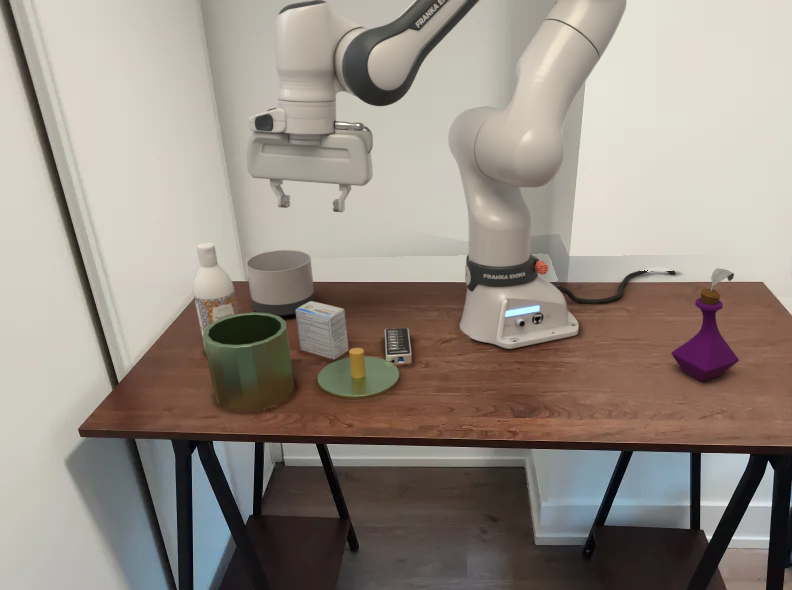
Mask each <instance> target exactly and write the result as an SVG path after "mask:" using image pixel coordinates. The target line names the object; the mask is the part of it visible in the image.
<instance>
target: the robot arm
mask: <svg viewBox="0 0 792 590" xmlns="http://www.w3.org/2000/svg"><path fill="white" fill-rule="evenodd" d="M481 1H482V0H413V1H412V2H411V3H410V5H408V6H407V7H406V8H405V9H404V11H403V12H401V13H400V14H399V16H398V17H397V18H395V19H394V20H393V21H390V22H389V23H386V24H384V25H381V26H377V27H372V28H368V27H365V26H363V25H361V24H359V23H357V22H355V21H353V20H351V19H350V18H348V17H346V16H344V15H343V14H341V13H340V12H339V11H337V10H336V9H335V8H333V7H332V6H331V5H330V4H329V2H328V1H325V0H307V1H300V2H294V3H291V4H287V5H285V6H283V7H282V8H281V10H280V11H279V12H278V14H277V16H276V20H275V31H274V55H275V56H274V58H275V59H274V60H275V69H276V73H277V76H278V80H279V82H278V83H279V85H278V91H277V107H273V108H269V109H267V110H266V111H263V112H260V113H257V114H254V115H251V116H250V117H249V118H248V128H249V129H250V131H251V133H250V134H249V135H248V136H247V140H246V154H245V155H246V157H245V158H246V170H247V173H248V174H249V175H250V176H251V178H254V179H263V180H269V186H270V188H271V190H272V191H273V193H274V195H275V196H276V198H277V207H278V208H281V209H283V208H284V209H288V208H290V207H291V201H290V200H291V195H290V194H289V195H288V194H285V192H284V190H283V188H282V185H283V184H284V183H283V182H284V181H292V182H302V183H303V182H305V183H317V184H330V185H338V191H339V192H341V194H340V196H339V198H335V199H334V200H333V201H332V206H333V207H332V211H333V212H334V213H343V212H345V210H346V203H345V202H346V201H345V200H346V199H347V198H348V196H349V194H350V192H351V191H352V186H358V187H363V186H366V185H367V184H368V183H370V182H371V180H372V179H373V177H374V171H373V170H374V169H373V160H372V153H371V152H372V150H373V145H374V141H373V140H374V137H373V136H374V135H373V132H372V130H371V129H370V128H369V127H367V125H364V123H362V122H348V121H337V94H338V93H340V92H345V93H348V94H350V95H351V96H352V97H353V96H354V97H356V98H358V99H359V100H360V101H362V102H363V103H365V104H367V105H370V106H373V107H386V106H390V105H393V104H395V103H397V102H399V101H400V100H402V99H403V98H404V97H405V96H406V94H408V92H409V90H410V89H411V87H412V85H413V83H414V81H415V79H416V77H417V75H418V73H419V70H420V68H421V66H422V65H423V63H424V61H425V60H426V59H427V57H428V56H429V55H430V54H431V52H432V51H433V50H434V49H435V48H436V47H437V46H438V45H439V44H440V43H441V42H442V41H443V40H444V38H445V37H446V36H447V35H448V34H449V33H450V32H451V31H452V30H453V29H454V28H455V27H456V26H457V25H458V24H459V23H460V22H461V21H462V20H463V19H464V17H466V16H467V14H468V13H469V12H470V11H471V10H473V8H474V7H475V6H478V4H479V3H480V2H481ZM554 4H555V5H554V6H553V7H552V9H550V11H549V12H548V14H547V16H546V17H545V19H544V20H543V22H542V23H541V25H540V26H539V28H538V29H537V31H536V32H535V34H534V36H533V37H532V39H531V40H530V42H529V44H528V45H527V47H526V48H525V49H524V51H523V53H522V54H521V56H520V58H519V59H518V60H517V64H516V66H515V76H516V79H517V82H516V86H515V89H514V92H513V95H512V97H511V100H510V102H509V104H508V105H507V107H505V108H504V109H502V108H497V107H493V106H477V107H473V108H469V109H466V110H464V111H461V113H459V114H458V115H457V116H456V117H455V118H454V119H453V121H452V123H451V125H450V127H449V130H448V135H447V139H448V140H447V142H448V148H449V150H450V153H451V154H452V156H453V158H454V160H455V162H456V164H457V167H458V171H459V175H460V180H461V183H462V188H463V192H464V197H465V202H466V208H467V218H468V254H467V255H466V258H465V259H466V260H465V268H464V269H465V270H464V279H465V286H466V293H465V294H466V295H465V301H464V307H463V311H462V315H461V319H460V320H459V321H460V322H459V329H460V331H461V332H462V333H463V334H465V335H466V336H468V337H469V338H470V339H472V340H474V341H478V342H480V343H487V344H491V345H496V346H498V347H499V348H503V349H506V350H512V349H516V348H522V347H526V346H531V345H536V344H541V343H547V342H550V341H556V340H561V339H566V338H570V337H574V336H577V335H578V334H579V331H580V325H579V321H578V320H577V319H576V317H575V316H574V314H573V313H572V312H570V311H569V310H568V305H567V301H566V298H565V296H564V295H563V294H565V295H567V297H568V298H569V299H570V300H571V301H572V302H575V303H577V304H583V305H584V304H587V305H589V304H590V305H600V304H606V303H610V302H615V301H618V300H619V299H621V298H622V297H623V295H624V290H625V289H624V288H625V286H626V285H627V284H628V282H629V280H630V279H633V278H634V277H637V276H641V275H644V274H648V273H649V272H647V271H648V270H647V271H645V270H644V271H640V270H637V271H633V272H630V273H628V274H627V275H626V276H624V279H622V281H621V283H620V284H619V285H618V292H617V293H616V294H614V295H611V296H608V297H603V298H592V299H591V298H590V299H589V298H581V297H578V296H576V295H575V294H574V293H573V292H572V291H571V290H570V289H568V288H567V287H563V285H562V283H561V284H560V283H556V282H551V281H549V280H547V279H546V278H545V277H543V275H546V274H547V273H548V272H549V266H548V264H546V262H544V261H543V260H540V259H539V258H538V257H537V256H535V255H534V254H532V253H531V241H532V223H533V217H532V212H531V209H530V207H529V205H528V203H527V202H526V200H525V198H524V195H523V191H522V188H540V187H544V186H545V185H547V184H549V183H550V182H551V181H553V180H554V179H555V178H556V177H557V175H558V174H559V172H560V170H561V169H562V166H563V163H564V159H565V153H566V147H565V142H564V138H563V137H564V136H563V134H564V133H563V132H564V126H565V122H566V120H567V118H568V114H569V112H570V109H571V107H572V105H573V102H574V101H575V99H576V98H577V95H578V94H579V93H580V91H581V89H582V88H583V86H584V84H585V83H586V82H587V80H588V78H589V77H590V75H591V73H592V72H593V70H594V69H595V68H596V66H597V64H598V63H599V61H600V60H601V59H602V57H603V56H604V53H605V52H606V50H607V48H608V47H609V45H610V43H611V41H612V39H613V38H614V36H615V34H616V32H617V29H618V27H619V25H620V23H621V21H622V18H623V16H624V14H625V12H626V9H627V0H556V1H555V3H554ZM652 272H654V271H651V272H650V273H652ZM665 272H667V273H668V274H670V275H671V276H677V273H676V271H675V270H674V269H673V271H665Z"/></svg>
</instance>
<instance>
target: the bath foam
mask: <svg viewBox="0 0 792 590" xmlns="http://www.w3.org/2000/svg"><path fill="white" fill-rule="evenodd" d="M196 250H197V255H198V261H199V265H200V267H199V268H198V270H197V273H196V275H195V278H194V281H193V286H192V289H193V291H192V292H193V298H194V299H193V300H194V304H195V309H196V314H197V319H198V323H199V327H200V333H201V338H202V342H203V348H204V352H205V353H206V350H205V345H204V340H203V333H204V329H205V328H207V327H208V326H209V325H210V324H211V323H213V322H215V321H217V320H219V319H222V318H224V317H228V316H232V315H236V314H239V309H238V303H237V296H236V290H235V286H234V284H233V281H232V279H231V277H230V276H229V274H228V273H227V272H226V271H225V270H224V269H223V268H222V267H221V265H220V264H219V263H218V257H217V251H216V245H215V243H213V242H202V243H199V244H197V245H196Z"/></svg>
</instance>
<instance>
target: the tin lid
mask: <svg viewBox="0 0 792 590" xmlns="http://www.w3.org/2000/svg"><path fill="white" fill-rule="evenodd" d="M348 354H349V357H345V358H341V359H338V360H335V361H333V362H330V363H329V364H327V365H326V366H324V367H323V368H322V369H321V370H320V371H319V372H318V374H317V377H316V378H317V385H318V387H319V389H320V390H321V391H322V392H323V393H325V394H327V395H329V396H332V397H334V398H339V399H346V400H361V399H369V398H370V399H371V398H373V397H377V396H380V395H382V394H385V393H388V392H389V391H391V390H392V389H394V387H395V386H396V385H397V384H398V382H399V381H400V370H399V368H398V367H397V365H396V364H392V363H391V362H389V361H386V359H384V358H381V357H375V356H365V350H364V349H363V348H362V347H353V348H350V349H349V350H348Z"/></svg>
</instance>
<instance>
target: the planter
mask: <svg viewBox="0 0 792 590" xmlns="http://www.w3.org/2000/svg"><path fill="white" fill-rule="evenodd" d="M312 266H313V265H312V258H311V256H310V254H308V253H307V252H305V251H301V250H292V249H278V250H271V251H266V252H265V251H264V252H261V253H257V254H256V255H253V256H251V257H250V258H248V259H247V260H246V261H245V268H246V275H247V281H248V287H249V294H250V300H251V301H250V302H251V306H252V309H253V310H254V311H255V312H257V313H270V314H273V315H276V316H280V317H281V318H285V317H291V316H294V315H295V316H296V309H297V308H299V307H300V306H302V305H304V304H306V303H308V302H310V301H313V302H316V293H315V287H314V286H315V284H314V278H313V277H314V276H313V267H312Z"/></svg>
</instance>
